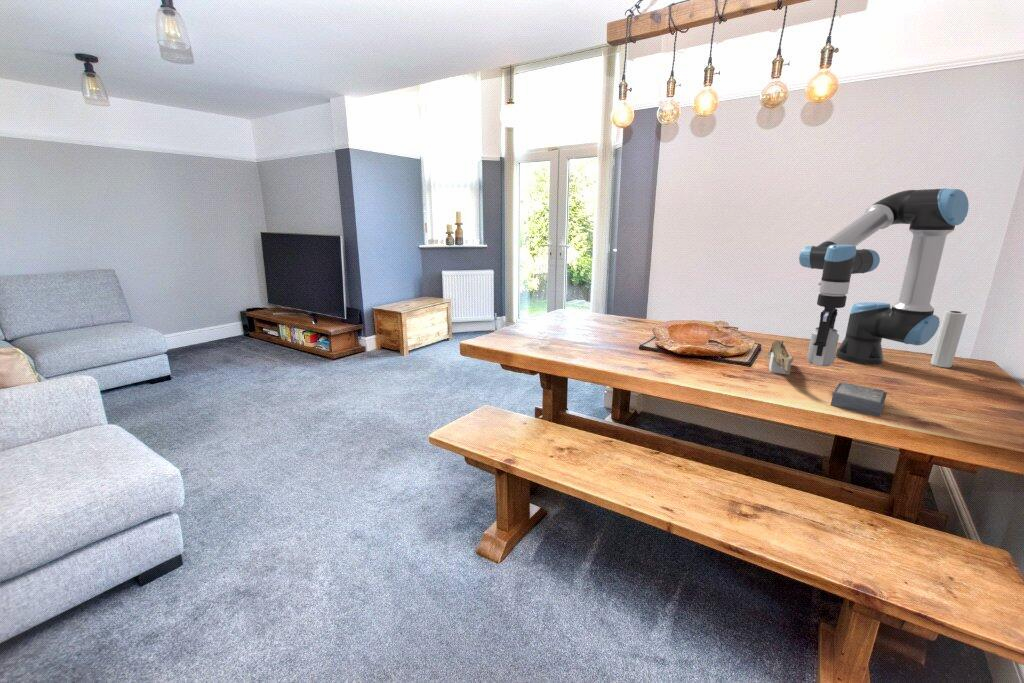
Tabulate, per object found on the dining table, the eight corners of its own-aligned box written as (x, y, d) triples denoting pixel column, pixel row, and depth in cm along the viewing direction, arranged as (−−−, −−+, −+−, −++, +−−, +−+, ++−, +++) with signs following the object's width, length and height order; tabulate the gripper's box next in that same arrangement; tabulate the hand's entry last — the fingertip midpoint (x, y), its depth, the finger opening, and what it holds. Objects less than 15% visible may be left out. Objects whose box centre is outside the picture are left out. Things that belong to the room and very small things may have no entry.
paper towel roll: (939, 367, 173) (955, 313, 167) (926, 362, 179) (940, 309, 173) (958, 368, 173) (975, 313, 167) (944, 363, 178) (959, 310, 173)
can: (807, 358, 156) (813, 324, 153) (833, 362, 152) (840, 327, 149) (805, 364, 150) (811, 329, 147) (832, 368, 146) (839, 333, 143)
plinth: (837, 394, 147) (840, 380, 145) (884, 404, 139) (887, 390, 138) (830, 405, 138) (833, 391, 137) (880, 416, 130) (883, 402, 129)
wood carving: (770, 386, 152) (776, 355, 149) (761, 357, 183) (766, 331, 180) (801, 391, 149) (807, 358, 146) (787, 360, 180) (792, 333, 177)
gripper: (824, 288, 154) (813, 352, 161) (812, 297, 140) (800, 367, 146) (851, 290, 149) (838, 356, 156) (841, 300, 135) (827, 372, 142)
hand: (820, 361), depth 151 cm, fingers closed on can, 7 cm apart
